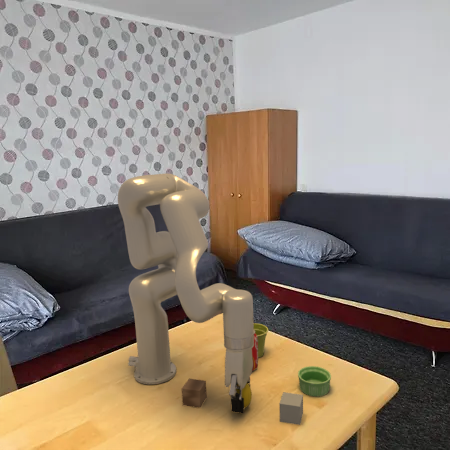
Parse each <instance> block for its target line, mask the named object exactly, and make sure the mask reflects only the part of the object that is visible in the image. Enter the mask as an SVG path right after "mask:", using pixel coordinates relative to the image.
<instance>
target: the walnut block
mask: <svg viewBox="0 0 450 450" xmlns="http://www.w3.org/2000/svg"><path fill="white" fill-rule="evenodd" d="M207 391H208V390H207V380H202V379H195V378H188V379H187V381H186V382H185V383H184V384H183V385H182V387H181V399H182V401H181V402H182V406H184V407H189V408H190V407H191V408H197V409H201V408H202V406H203V404H204V403H205V401H206V399H207V397H208V394H207Z"/></svg>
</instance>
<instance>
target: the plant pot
mask: <svg viewBox="0 0 450 450" xmlns="http://www.w3.org/2000/svg"><path fill="white" fill-rule="evenodd" d="M253 325H254V330H255V333H256V335H257V339H258V358H262V357H263V356H264V351H265V344H266V337H267V333H268V332H269V328H268V327H267V326H266V325H264V324H262V323H254V322H253Z"/></svg>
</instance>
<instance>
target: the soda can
mask: <svg viewBox="0 0 450 450" xmlns="http://www.w3.org/2000/svg"><path fill="white" fill-rule="evenodd" d="M258 366H259V357H258V339H257V335H256V333H255V330H254V346H253V348H252V372H253V371H255V370H257V369H258Z"/></svg>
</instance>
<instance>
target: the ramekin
mask: <svg viewBox="0 0 450 450" xmlns="http://www.w3.org/2000/svg"><path fill="white" fill-rule="evenodd" d="M297 378H298V384H299V390H300V391H301V392H302V393H303V394H305V395H308V396H310V397H323V396H325V395H327V394H328V393H329V391H330V383H331V380H332V375H331V373H330V371H329V370H327V369H325V368H324V367H321V366H313V365H311V366H310V365H309V366H304V367H301V368H300V369H299V370H298V372H297Z"/></svg>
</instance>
